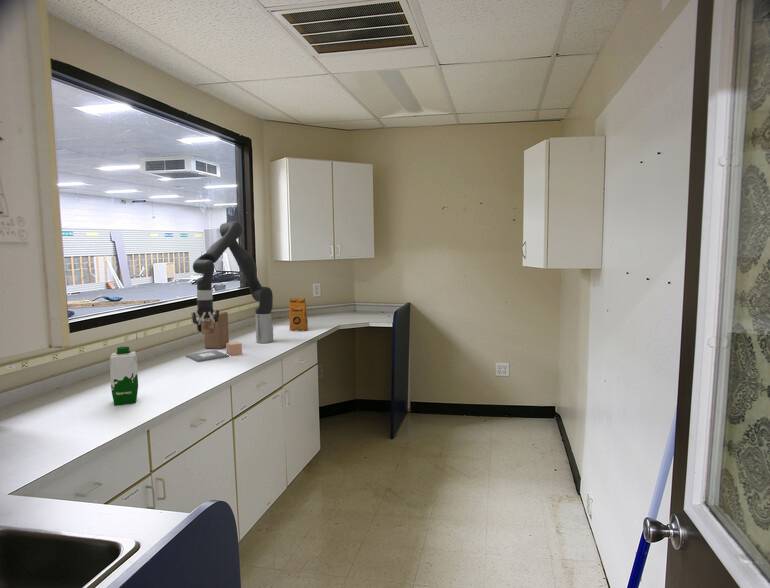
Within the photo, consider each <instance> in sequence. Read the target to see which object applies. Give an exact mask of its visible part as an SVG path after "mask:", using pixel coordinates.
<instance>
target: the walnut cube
mask: <svg viewBox="0 0 770 588" xmlns="http://www.w3.org/2000/svg"><path fill="white" fill-rule="evenodd" d="M200 325H201V332H199V331H198V330H197V333H199V334H201V335H204V334H209V333H214V321H210V320H205V321H204V320H202V322H201V324H200Z"/></svg>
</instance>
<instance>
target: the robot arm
mask: <svg viewBox="0 0 770 588" xmlns="http://www.w3.org/2000/svg"><path fill="white" fill-rule="evenodd" d="M219 233H220V236H221V237H220V238H219V239H218V240H216V241H215V242H214V243H212V245H210V246H209V247H208V249H207V250H206V252H204V253H203V254H202V255H200V256H199V257H197V258H196V259H195V260H194V262H193V264H192V270H193V272H194V273H196V274H200V275H201V274H202V275H203V276H202V277H201V278H198V279H197V280H196V302H197V303H196V305H197V310H196V311H192V312H191V313H190V314H191V319H192V323H193V325H196V328H197V329H196V330H197V332H198V331H199V332H201V325H200V324H201V322H202V321H204V319H205V318H209V320H210V321H214V329H215V322H217V321H218V317H219V311H220V310H218V309H214V301H213V299H214V297H213V289H212V288H213V287H212V285H213V284H212V281H213V277H214V274H215V273H214V272H215V264H214V263H216V262H218V260H219V259H220V257H221V256H222V255H223V253H224V252H225V251H227V249H229V250H230V252H231V255H232V256H233V258H234V260H235V262H236V263H237V266H238V268H239V270H240V272H241V273H242V276H243V278H244V279H245V280H244V281H245V282H246V283H247V286H248V289H249V292H250V294H251V297H252V299H253V300H254V301H255V302H258V303H259V304H258V305H259V306H258V307H257V308H255V310H254V312H255V313H254V314H255V315H254V316H255V342H256V343H258V344H268V343H272V342H274V325H272V324H273V323H272V322H273V321H272V310H273V299H274V298H273V297H274V296H273V290H272V289H271V287H268V286H262V284H261V283H260V281H259V279H258V275H257V274H258V273H257V272H258V270H257V269H258V268H257V264H256V262H255V260H254V258H253V256H252V254H251V253H250V252H249V251H248V250H246V248H244V247H243V246H242V245H240V244H239V242H238V241H237V239H239V238H240V237H241V236H242V234H243V226H242V224H241V223H240V222H239V221H234V220H233V221H229V222H224V223H222V224H220V226H219ZM213 312H214V314H215V316H214V319H213V317H212V314H213ZM197 315H198V318H197Z"/></svg>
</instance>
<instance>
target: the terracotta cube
mask: <svg viewBox="0 0 770 588" xmlns="http://www.w3.org/2000/svg"><path fill="white" fill-rule="evenodd" d="M225 351H226V353H225V354H228V355H229V356H230V355H231V356H230V357H234V356H233V355H235V356H240V355H239V354H241V355H243V345H242V342H239V341H232V342H229V343H226V347H225Z"/></svg>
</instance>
